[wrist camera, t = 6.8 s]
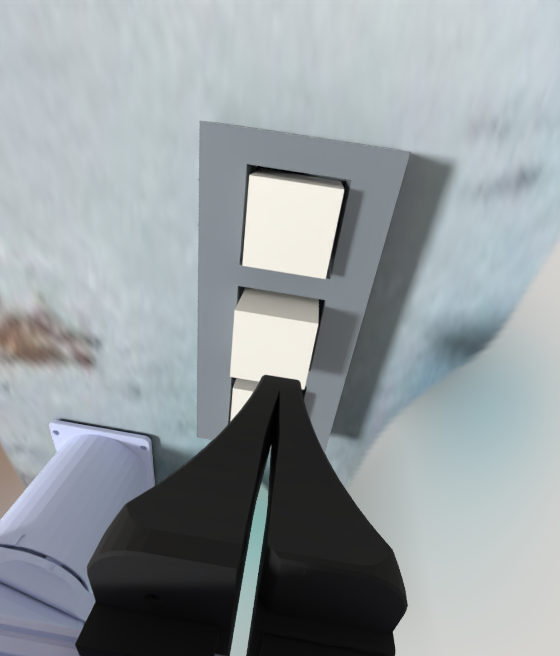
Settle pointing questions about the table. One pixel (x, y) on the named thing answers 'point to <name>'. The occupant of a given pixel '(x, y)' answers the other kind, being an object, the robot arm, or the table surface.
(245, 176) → the button board
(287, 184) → the button
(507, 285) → the table surface
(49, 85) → the table surface
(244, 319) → the middle button
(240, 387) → the button
